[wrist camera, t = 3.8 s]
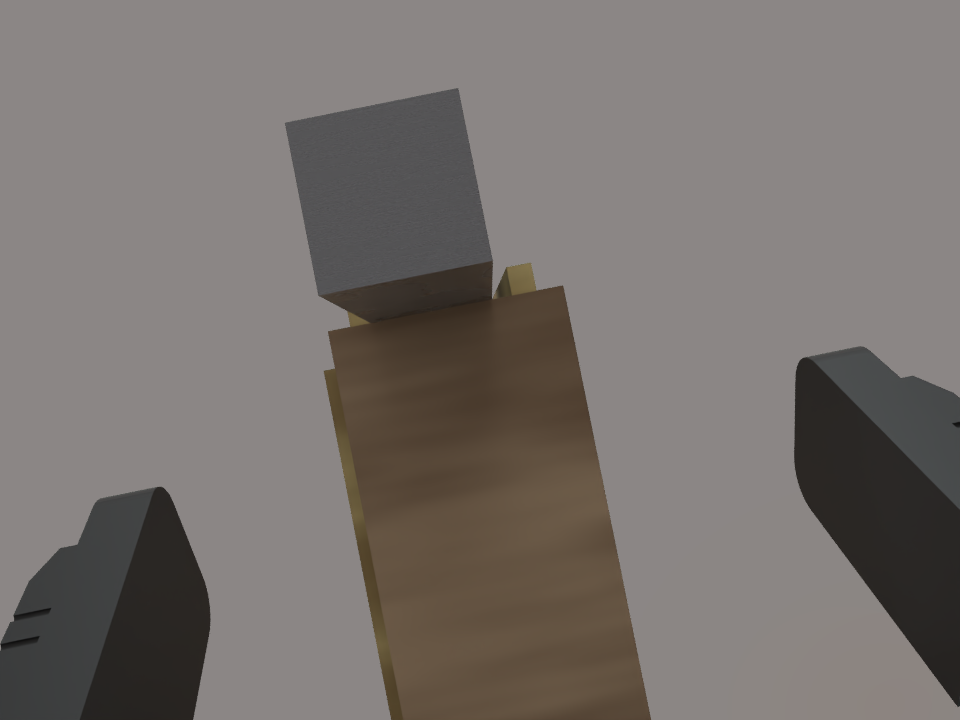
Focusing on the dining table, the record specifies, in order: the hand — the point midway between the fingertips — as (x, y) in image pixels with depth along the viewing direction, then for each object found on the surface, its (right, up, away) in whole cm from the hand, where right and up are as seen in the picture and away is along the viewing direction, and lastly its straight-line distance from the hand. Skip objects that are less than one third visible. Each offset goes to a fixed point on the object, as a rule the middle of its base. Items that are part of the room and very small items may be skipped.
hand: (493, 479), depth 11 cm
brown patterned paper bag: (+6, -35, +23) cm, 42 cm away
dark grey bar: (-2, +3, +18) cm, 18 cm away
